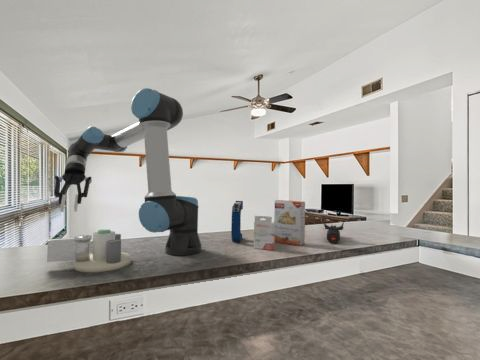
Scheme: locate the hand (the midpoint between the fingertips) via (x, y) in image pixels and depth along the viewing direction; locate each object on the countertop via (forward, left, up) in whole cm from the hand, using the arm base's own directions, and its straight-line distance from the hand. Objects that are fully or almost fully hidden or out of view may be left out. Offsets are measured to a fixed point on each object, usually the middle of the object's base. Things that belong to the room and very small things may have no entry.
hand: (68, 209), depth 104 cm
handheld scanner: (-60, -41, -18) cm, 75 cm away
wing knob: (-10, +11, -16) cm, 22 cm away
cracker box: (-86, -39, -18) cm, 97 cm away
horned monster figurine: (-110, -51, -19) cm, 123 cm away
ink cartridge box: (-74, -27, -18) cm, 81 cm away
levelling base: (-18, +6, -18) cm, 27 cm away
